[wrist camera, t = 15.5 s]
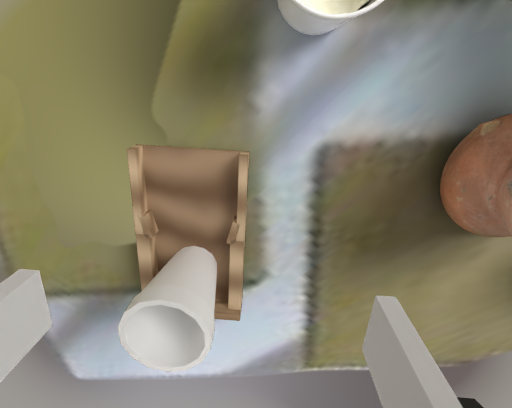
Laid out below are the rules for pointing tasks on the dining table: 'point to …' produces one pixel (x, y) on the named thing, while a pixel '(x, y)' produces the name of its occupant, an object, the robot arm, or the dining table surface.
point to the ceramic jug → (481, 180)
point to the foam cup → (173, 314)
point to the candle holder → (322, 13)
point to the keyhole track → (191, 212)
